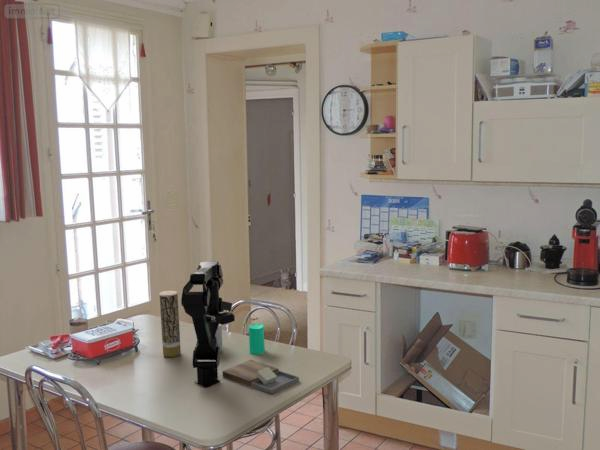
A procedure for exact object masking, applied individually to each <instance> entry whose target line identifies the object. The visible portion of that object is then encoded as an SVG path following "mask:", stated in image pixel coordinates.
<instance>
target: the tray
mask: <svg viewBox="0 0 600 450" xmlns="http://www.w3.org/2000/svg"><path fill="white" fill-rule="evenodd" d="M274 374H275V375H276V376H277V378H276V380H275V381H273V382H271V383H268V384H266V385H265V384H264V383H263V382H262V381H261V380H260V379H258V380H255V381H253V382H251V386H250V387H251V388H255V389H257V390H258V391H262V392H265V393H268V394H271V395H274V394H276V393H277V392H279V391H281V390H284V389H286V388H288V387H290V386H293V385H294V384H296V383H299V382H300V377H299V376H297V375H294V374H291V373H288V372H286V371H285V372H284V371H281V370H279V369H278V371H276V372H274Z"/></svg>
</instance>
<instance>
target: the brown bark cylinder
mask: <svg viewBox="0 0 600 450" xmlns="http://www.w3.org/2000/svg"><path fill="white" fill-rule="evenodd" d="M178 293H179V292H178V291H177V290H164V291H160V292H159V307H160V323H161V324H160V326H161V340H162V341H161V344H162V355H163V356H164V357H165V358H174V357H178V356H180V355H181V351H182V350H181V348H182V347H181V334H180V333H181V331H180V330H181V329H180V314H179V296H178V295H179V294H178Z"/></svg>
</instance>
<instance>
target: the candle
mask: <svg viewBox="0 0 600 450" xmlns="http://www.w3.org/2000/svg"><path fill="white" fill-rule="evenodd" d="M248 339H249V340H248V345H249V347H248V350H249V354H252V355H262V354H264V353H266V351H265V326H264V324H262V323H255V324H250V325H249V326H248Z"/></svg>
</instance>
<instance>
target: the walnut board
mask: <svg viewBox="0 0 600 450" xmlns="http://www.w3.org/2000/svg"><path fill="white" fill-rule="evenodd" d="M267 367H269V368H270V370H271V371H272V372H273V373H274V372H276V371H278V370H279V368H278V367H274V366H271V365H268V364H265V363H262V362H260V361H256V360H254V359H249V360H246V361H245V362H244V361H243V362H241V363H239V364H237V365H234V366H232V367H229V368H227V369H225V370H222V377H224V378H225V379H229V380H232V381H234V382H237V383H239V384H243V385H245V386H247V387H251V382H253V381H255V380H258V379H259V378H258V377H257V376H256V374H257V371H259V370H262V369H264V368H267Z"/></svg>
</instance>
